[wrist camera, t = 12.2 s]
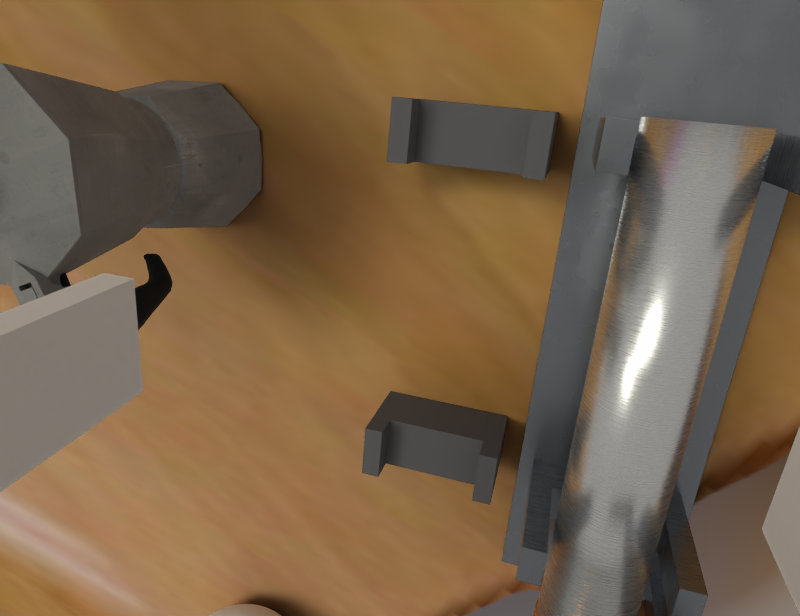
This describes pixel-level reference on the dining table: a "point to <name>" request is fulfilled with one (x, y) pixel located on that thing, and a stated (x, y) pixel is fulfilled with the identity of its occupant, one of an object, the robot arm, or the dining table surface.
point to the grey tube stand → (597, 226)
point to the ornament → (245, 611)
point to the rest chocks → (427, 419)
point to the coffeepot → (114, 173)
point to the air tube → (650, 357)
